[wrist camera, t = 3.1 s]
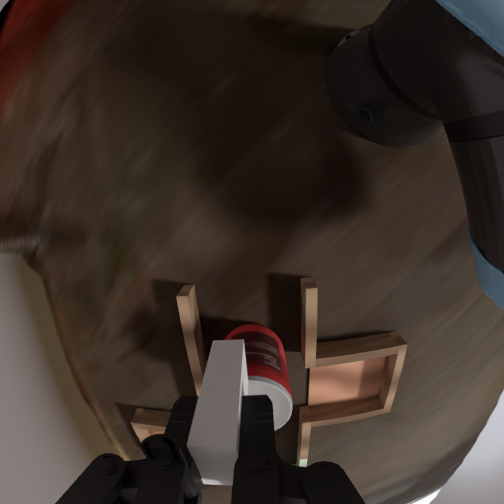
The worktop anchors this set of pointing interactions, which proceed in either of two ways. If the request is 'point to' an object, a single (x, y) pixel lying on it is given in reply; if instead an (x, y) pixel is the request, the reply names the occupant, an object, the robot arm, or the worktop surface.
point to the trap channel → (321, 371)
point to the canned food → (266, 368)
